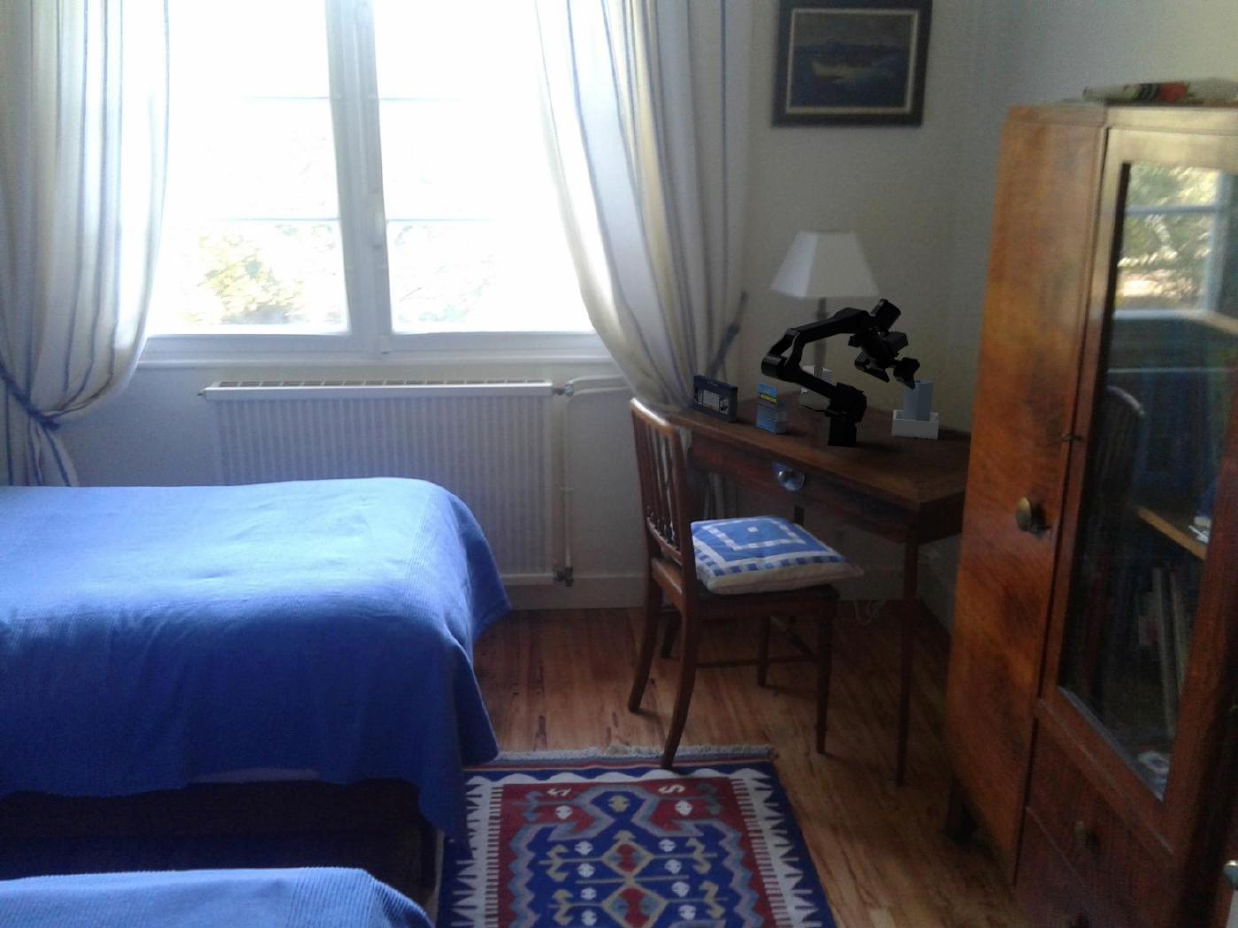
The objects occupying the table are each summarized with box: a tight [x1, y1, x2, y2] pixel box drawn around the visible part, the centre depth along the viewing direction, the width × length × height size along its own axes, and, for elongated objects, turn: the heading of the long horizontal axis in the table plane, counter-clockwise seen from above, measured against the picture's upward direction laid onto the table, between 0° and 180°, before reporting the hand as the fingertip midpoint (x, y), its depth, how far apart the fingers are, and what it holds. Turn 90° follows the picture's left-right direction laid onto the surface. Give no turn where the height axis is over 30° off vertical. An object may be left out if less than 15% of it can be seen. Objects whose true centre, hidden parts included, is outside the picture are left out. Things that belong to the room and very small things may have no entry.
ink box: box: [800, 365, 833, 394], centre depth 308 cm, size 8×5×12 cm, turn 22°
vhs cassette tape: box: [692, 374, 739, 424], centre depth 297 cm, size 18×3×10 cm, turn 28°
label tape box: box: [756, 381, 788, 435], centre depth 283 cm, size 9×4×12 cm, turn 27°
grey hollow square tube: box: [902, 378, 934, 422], centre depth 282 cm, size 5×5×13 cm
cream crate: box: [890, 409, 940, 440], centre depth 284 cm, size 12×12×4 cm
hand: (901, 384), depth 278 cm, fingers open, 9 cm apart
